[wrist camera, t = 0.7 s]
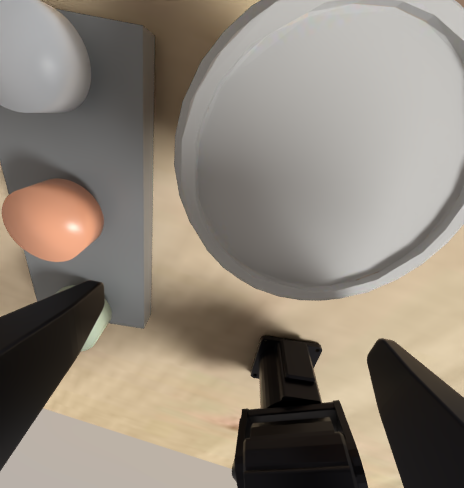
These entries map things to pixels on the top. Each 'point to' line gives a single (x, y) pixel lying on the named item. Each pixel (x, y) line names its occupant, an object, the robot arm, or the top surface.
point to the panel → (98, 165)
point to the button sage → (99, 325)
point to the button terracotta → (53, 219)
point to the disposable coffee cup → (327, 143)
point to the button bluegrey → (40, 59)
